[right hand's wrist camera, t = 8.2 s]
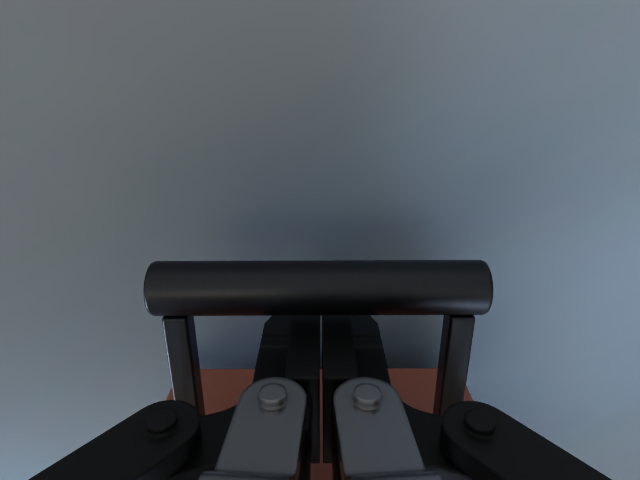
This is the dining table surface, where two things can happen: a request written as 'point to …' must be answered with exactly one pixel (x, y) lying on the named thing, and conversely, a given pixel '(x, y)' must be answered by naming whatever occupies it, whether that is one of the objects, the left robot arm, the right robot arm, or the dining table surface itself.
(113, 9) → the dining table surface
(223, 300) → the drawer
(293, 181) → the dining table surface
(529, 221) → the dining table surface
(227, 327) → the dining table surface
